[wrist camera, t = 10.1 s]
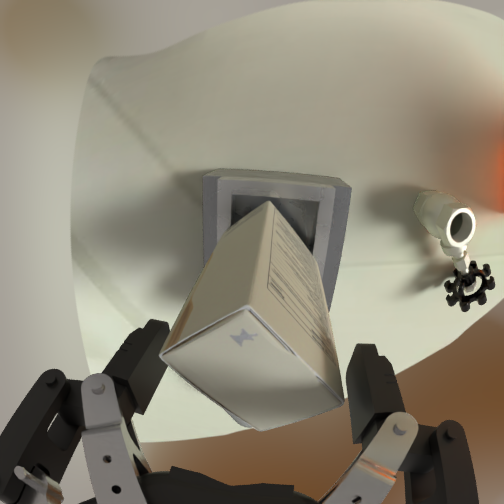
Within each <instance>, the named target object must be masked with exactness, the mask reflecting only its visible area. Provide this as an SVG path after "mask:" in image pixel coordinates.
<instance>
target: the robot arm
mask: <svg viewBox="0 0 504 504" xmlns="http://www.w3.org/2000/svg"><path fill="white" fill-rule="evenodd" d="M169 333H170V329H169V324H168V323H167V322H165V321H159V320H154V319H150V320H149V321H148V322H147V324H146V325H145V327H144V328H143V329H142V328H138V329H136V330H135V331H133V332H132V333H130V334H129V336H128V337H127V338H126V340H125V341H124V343H123V344H122V345H121V347H120V348H119V350H118V351H117V352H116V353H115V355H114V356H113V358H112V359H111V360H110V362H109V363H108V365H107V366H106V368H105V369H104V370H103V372H102V373H97V374H92V375H90V376H88V377H87V378H86V379H85V380H84V381H80V380H70V379H66V377H65V375H64V373H63V372H62V371H60V370H58V369H50V370H47V371H45V372H44V373H43V374H42V375H41V376H40V377H39V379H38V380H37V381H36V383H35V384H34V385H33V387H32V388H31V390H30V391H29V393H28V394H27V395H26V397H25V398H24V400H23V401H22V403H21V404H20V406H19V407H18V408H17V410H16V412H15V413H14V415H13V416H12V418H11V419H10V421H9V422H8V424H7V426H6V427H5V429H4V430H3V432H2V434H1V436H0V500H1V501H2V502H3V503H5V504H61V503H62V502H63V500H64V497H63V495H62V491H61V487H60V486H59V483H60V481H61V479H62V477H63V475H64V472H65V470H66V468H67V466H68V464H69V462H70V460H71V457H72V455H73V453H74V451H75V449H76V447H77V445H78V443H79V441H80V439H81V437H82V442H83V447H84V452H85V457H86V462H87V467H88V471H89V474H90V479H91V483H92V486H93V490H94V493H95V497H94V498H92V499H89V500H87V501H84V502H81V503H79V504H381V503H382V501H383V500H384V498H385V497H386V495H387V494H388V492H389V491H390V489H391V487H392V486H393V484H394V482H395V480H396V477H395V474H396V472H397V471H404V480H405V497H406V504H479V500H478V493H477V487H476V480H475V474H474V469H473V464H472V460H471V455H470V451H469V447H468V443H467V439H466V435H465V432H464V429H463V427H462V426H461V425H460V424H459V423H458V422H456V421H453V420H446V421H444V422H442V423H441V424H440V425H439V426H438V427H431V426H425V425H420V424H417V421H416V420H415V418H414V417H412V416H411V415H409V414H408V413H406V411H405V408H404V404H403V401H402V397H401V393H400V390H399V387H398V384H397V380H396V377H395V376H394V374H395V373H394V370H393V367H392V364H391V363H390V362H389V361H388V359H387V358H386V357H385V356H379V355H378V352H377V348H376V346H375V344H357V345H356V347H355V349H354V352H353V355H352V357H351V360H350V363H349V365H348V368H347V372H346V385H347V393H348V401H349V409H350V417H351V427H352V436H353V444H358V443H362V451H361V452H360V453H359V454H358V456H357V457H356V458H355V460H354V461H353V462H352V464H351V465H350V466H349V467H348V469H347V470H346V471H345V472H344V474H343V475H342V476H341V477H340V478H339V480H338V481H337V482H336V483H335V484H334V485H333V486H332V487H331V488H330V489H329V491H327V493H326V494H325V495H324V496H323V497H322V498H321V499H320V500H319V501H318V502H317V501H315V500H314V499H312V498H311V497H309V496H307V495H305V494H302V493H299V492H296V491H294V485H279V484H266V483H261V484H251V485H238V486H230V485H227V484H224V483H222V482H219V481H217V480H215V479H212V478H210V477H208V476H206V475H203V474H201V473H198V472H193V471H189V470H185V469H182V468H178V467H174V466H172V467H171V469H170V471H160V472H152V470H151V468H150V466H149V464H148V462H147V460H146V458H145V456H144V454H143V451H142V448H141V445H140V442H139V439H138V436H137V433H136V430H135V427H134V424H133V420H132V416H133V414H134V412H136V413H139V414H142V415H144V413H145V411H146V409H147V407H148V405H149V403H150V401H151V399H152V397H153V395H154V393H155V391H156V389H157V387H158V385H159V383H160V381H161V379H162V377H163V375H164V373H165V371H166V369H167V367H168V365H167V364H166V363H165V362H164V361H162V360H161V358H160V357H159V353H160V351H161V349H162V347H163V345H164V343H165V341H166V339H167V337H168V335H169ZM57 413H58V415H57V416H56V418H55V420H54V421H53V423H52V425H51V427H50V428H49V430H48V427H49V425H50V423H51V422H52V420H53V418H54V417H55V415H56V414H57ZM47 430H48V432H47Z"/></svg>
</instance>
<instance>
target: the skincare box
mask: <svg viewBox="0 0 504 504" xmlns="http://www.w3.org/2000/svg"><path fill="white" fill-rule="evenodd" d="M159 357H160V358H161V360H162V361H164V362H165V363H166V364H167V365H168V366H169V367H170V368H171V369H173V370H174V371H175V372H176V373H177V374H178V375H180V376H181V377H182V378H183V379H184V380H185V381H187V382H188V383H189V384H191V385H192V386H193V387H194V388H196V389H197V390H198V391H199V392H201V393H202V394H204V395H205V396H206V397H208V398H209V399H210V400H212V401H213V402H215V403H216V404H217V405H219V406H220V407H222V408H223V409H225V410H226V411H228V412H229V413H231V414H232V415H234V416H235V417H237V418H238V419H240V420H242V421H243V422H245V423H247V424H248V425H250V426H251V427H253V428H255V429H257V430H258V431H265V430H269V429H272V428H276V427H280V426H284V425H287V424H290V423H294V422H297V421H300V420H303V419H307V418H310V417H313V416H316V415H319V414H322V413H324V412H327V411H330V410H332V409H335V408H338V407H341V406H342V405H343V404H344V393H343V387H342V381H341V375H340V369H339V364H338V358H337V353H336V347H335V342H334V336H333V331H332V326H331V321H330V316H329V312H328V307H327V303H326V298H325V293H324V289H323V285H322V280H321V276H320V272H319V267H318V263H317V262H316V260H315V259H314V257H313V256H312V254H311V253H310V251H309V250H308V249H307V247H306V246H305V244H304V243H303V242H302V240H301V239H300V238H299V236H298V235H297V234H296V232H295V231H294V230H293V228H292V227H291V226H290V225H289V223H288V222H287V221H286V220H285V218H284V217H283V216H282V215H281V213H280V212H279V211H278V210H277V209H276V207H275V206H274V205H273V204H272V203H271V202H270V201H266V202H265V203H263V204H262V205H260V206H259V207H257V208H256V209H254V210H253V211H251V212H250V213H249V214H247V215H246V216H244V217H243V218H242V219H240V220H239V221H238V222H236V223H235V224H234V225H233V226H231V227H230V228H229V229H228V230H226V231H225V232H224V233H223V235H222V237H221V238H220V240H219V242H218V243H217V245H216V247H215V249H214V251H213V253H212V254H211V256H210V258H209V260H208V262H207V263H206V265H205V267H204V269H203V271H202V272H201V274H200V276H199V278H198V280H197V281H196V283H195V285H194V287H193V289H192V291H191V292H190V294H189V296H188V298H187V300H186V302H185V304H184V306H183V308H182V310H181V311H180V313H179V315H178V317H177V319H176V321H175V323H174V325H173V327H172V329H171V331H170V333H169V335H168V337H167V339H166V341H165V343H164V345H163V347H162V349H161V351H160V353H159Z"/></svg>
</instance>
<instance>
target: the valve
mask: <svg viewBox="0 0 504 504" xmlns="http://www.w3.org/2000/svg"><path fill="white" fill-rule="evenodd" d="M413 210H414V212H415V214H416V216H417V218H418V220H419V221H420V223H421V224H422V225H423V226H424V227H426V229H427V230H428V232H429V233H430V234H431V235H433V236H434V237H436V238H438V239H441V241H440V245H441V247H442V249H443V252H444V253H445V254H446V255H447V256H453V257H452V260H453V263H454V266H455V268H456V269H455V270H454V271H453V273H454V276H455V278H456V279H455V281H454V283H450V280H448V281H446V282H445V284H444V287H445V289H446V291H447V292H448V293H451V292H453V295H452V296H449V294H448V295H447V297H446V300H447V303H448V305H449V306H454V305H455V304H456V302H458V301H459V302H460V303H459V305H460V308H461V310H462V311H463V312H467V311H468V310H469V309H470V303H471V302H473V301H477V302H478V304H479V305H484V304H485V303H486V301H487V298H486V294H485V290H486V289H488V290H492V289H494V287H495V281H494V278H493V277H492V276H490V279H489V280H487V279H486V277H488V276H489V275H490V274H491V270H490V266H489V264H484V265H483V269H482V270H479V269H478V267H477V264H476V261H470V259H469V256H468V253H467V252H466V251H465V249H466V248H467V245H468V243H469V242H470V240H471V238H472V236H473V234H474V232H475V229H476V221H475V217H474V215H473V212H472V210H471V208H470V207H469V206H467V205H465V204H463V203H461V202H458V200H457V199H456V198H454V197H453V196H451V195H449V194H446V193H440V192H438V191H423V192H420V193H419V196H418V198H417V200H416V202H415V205H414V207H413ZM476 276H478V277H480V278H481V279H482V284H481V287H480V288H479V289H478V290H477V291H476V292H475V293H474V294H472V295H468V296H465V295H464V290H465V291H466V292H471V291H473V290H474V289H475V287H476V285H477V283H476ZM459 284H460V285H459ZM458 286H459V288H458ZM457 289H458V292H457Z"/></svg>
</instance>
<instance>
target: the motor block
mask: <svg viewBox="0 0 504 504" xmlns="http://www.w3.org/2000/svg"><path fill="white" fill-rule="evenodd" d="M351 190H352V188H351V187H350V186H349V185H348V184H346V183H345V182H344V181H342V180H341V179H340V178H334V177H326V176H317V175H308V174H298V173H287V172H274V171H260V170H243V169H217V170H214V171H212V172H210V173H208V174H206V175H204V176H203V245H204V267H205V265H206V263H207V262H208V260H209V258H210V256H211V254H212V253H213V251H214V249H215V247H216V245H217V243H218V242H219V240H220V238H221V237H222V235H223V233H224V232H225V231H226V230H228V229H229V228H230V227H231V226H233V225H234V224H235V223H236V222H238V221H239V220H240V219H242V218H243V217H244V216H246V215H247V214H249V213H250V212H251V211H253V210H254V209H256V208H257V207H259V206H260V205H262V204H263V203H265V202H266V201H270V202H271V203H272V204H273V205H274V206H275V207H276V209H277V210H278V211H279V212H280V213H281V215H282V216H283V217H284V218H285V220H286V221H287V222H288V223H289V225H290V226H291V227H292V228H293V230H294V231H295V232H296V234H297V235H298V236H299V238H300V239H301V240H302V242H303V243H304V244H305V246H306V247H307V249H308V250H309V251H310V253H311V254H312V256H313V257H314V259H315V260H316V262H317V263H318V267H319V272H320V276H321V280H322V285H323V289H324V293H325V298H326V303H327V307H328V312H329V311H330V307H331V302H332V298H333V293H334V289H335V284H336V279H337V275H338V270H339V265H340V259H341V254H342V248H343V243H344V237H345V231H346V225H347V218H348V212H349V205H350V198H351Z"/></svg>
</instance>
